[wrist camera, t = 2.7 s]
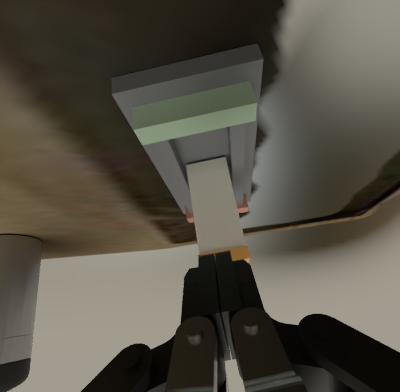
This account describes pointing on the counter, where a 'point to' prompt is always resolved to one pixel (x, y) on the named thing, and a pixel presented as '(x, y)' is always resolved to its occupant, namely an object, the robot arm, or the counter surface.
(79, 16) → the counter surface
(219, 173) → the orange-capped white pillar
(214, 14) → the counter surface
